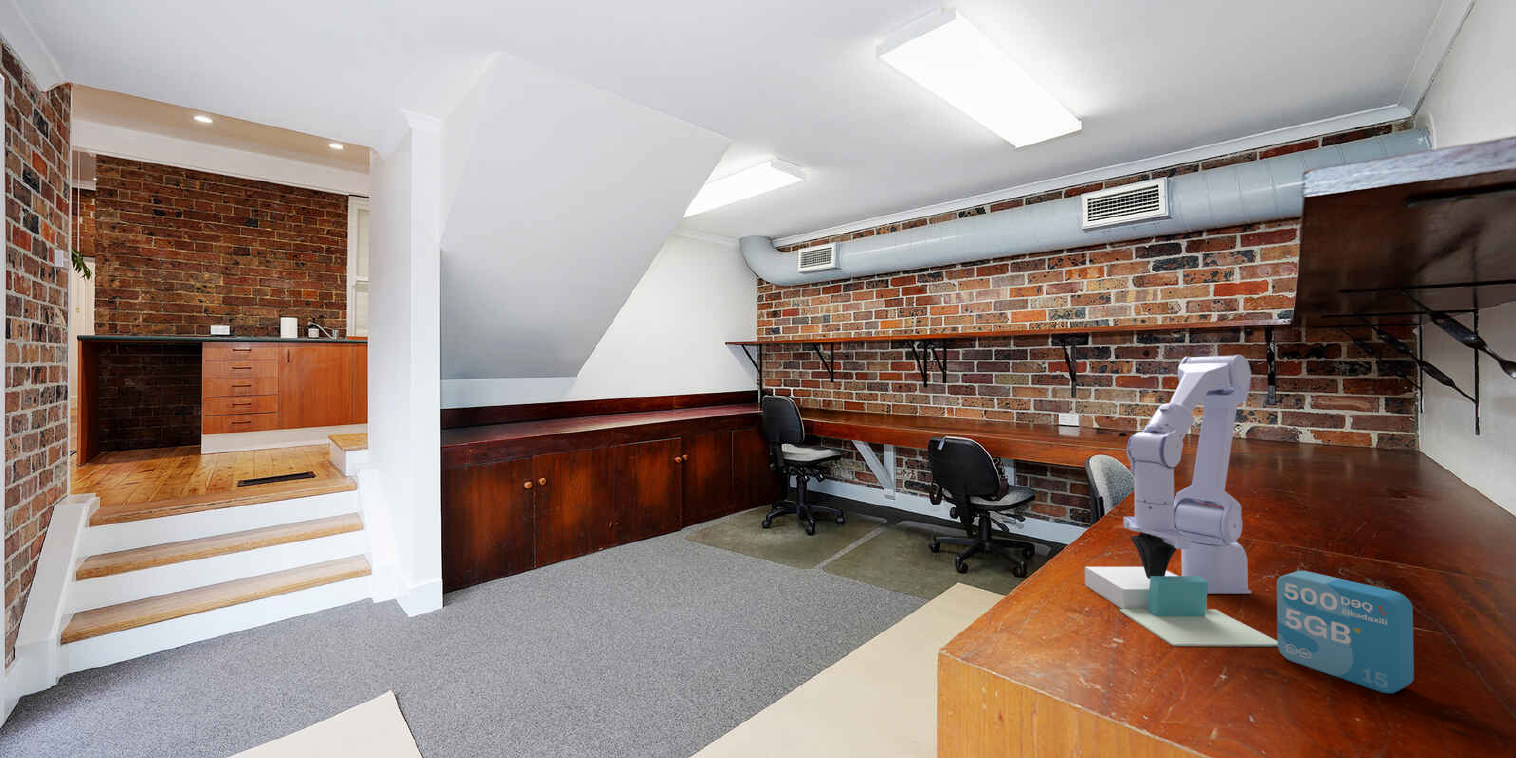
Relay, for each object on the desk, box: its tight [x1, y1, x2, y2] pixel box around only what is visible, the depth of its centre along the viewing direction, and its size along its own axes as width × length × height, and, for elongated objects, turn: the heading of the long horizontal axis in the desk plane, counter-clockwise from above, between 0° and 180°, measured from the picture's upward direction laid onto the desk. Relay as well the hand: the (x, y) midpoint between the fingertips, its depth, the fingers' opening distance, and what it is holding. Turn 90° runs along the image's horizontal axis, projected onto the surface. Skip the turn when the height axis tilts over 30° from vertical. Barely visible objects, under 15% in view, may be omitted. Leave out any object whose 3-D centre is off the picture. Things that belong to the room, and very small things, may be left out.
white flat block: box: [1084, 566, 1208, 609], centre depth 104 cm, size 14×12×4 cm
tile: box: [1148, 575, 1208, 616], centre depth 95 cm, size 8×6×2 cm
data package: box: [1276, 570, 1415, 694], centre depth 76 cm, size 12×4×12 cm, turn 26°
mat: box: [1119, 608, 1278, 647], centre depth 90 cm, size 16×13×1 cm
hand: (1155, 579), depth 100 cm, fingers closed
